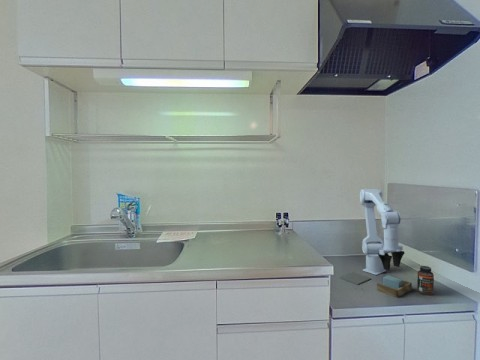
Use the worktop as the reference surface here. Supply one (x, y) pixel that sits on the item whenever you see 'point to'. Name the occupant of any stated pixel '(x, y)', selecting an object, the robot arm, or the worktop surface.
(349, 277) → the mat
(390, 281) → the block
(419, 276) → the supplement bottle
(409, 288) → the arch frame
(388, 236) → the robot arm
